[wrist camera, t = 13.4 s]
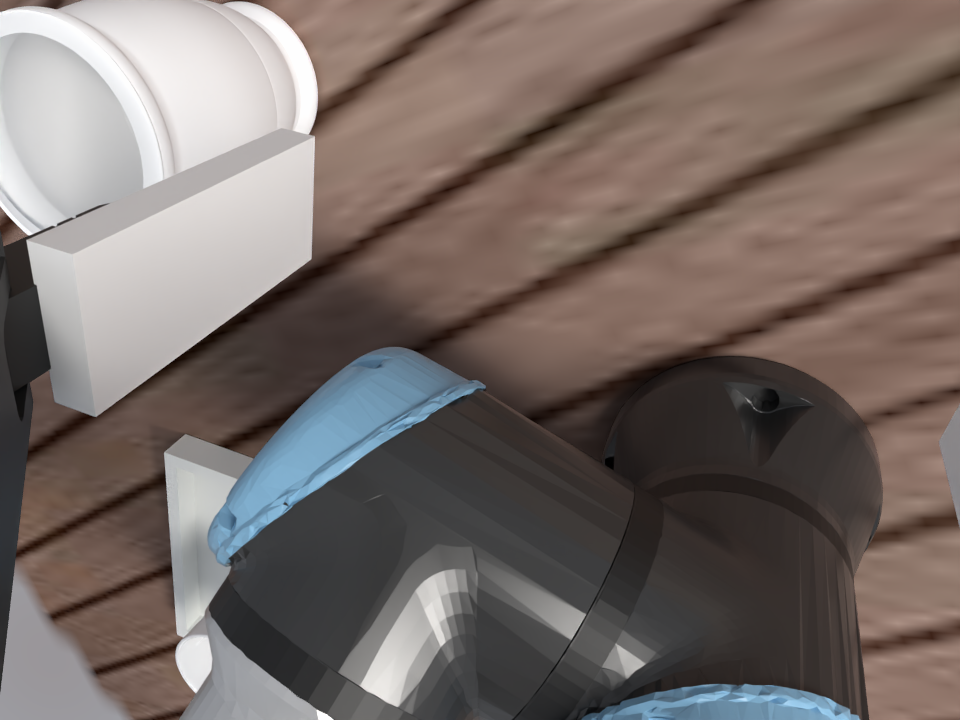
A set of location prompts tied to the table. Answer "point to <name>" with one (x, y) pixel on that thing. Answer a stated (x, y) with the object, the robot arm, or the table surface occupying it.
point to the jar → (136, 96)
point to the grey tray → (197, 521)
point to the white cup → (194, 656)
